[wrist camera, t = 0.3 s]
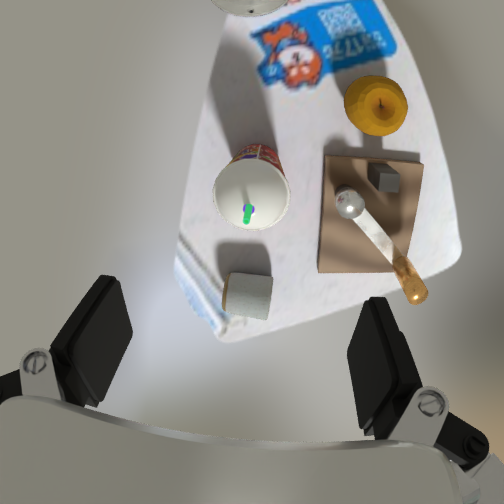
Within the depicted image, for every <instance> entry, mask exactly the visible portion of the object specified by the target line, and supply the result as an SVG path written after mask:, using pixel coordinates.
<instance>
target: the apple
mask: <svg viewBox="0 0 504 504" xmlns="http://www.w3.org/2000/svg"><path fill="white" fill-rule="evenodd" d="M344 108H345V112H346V114H347V116H348V118H349V120H350V121H351V122H352V123H353V124H354V125H355V126H356V127H357V128H358V129H359V130H361V131H362V132H364V133H366V134H369V135H374V136H386V135H389V134H391V133H393V132H395V131H397V130H398V129H399V128H400V127H401V125H402V124H403V122H404V120H405V117H406V115H407V110H408V105H407V100H406V97H405V95H404V93H403V91H402V89H401V88H400V86H399V85H398V84H397V83H396V82H395V81H393V80H391V79H389V78H386V77H383V76H364V77H360V78H358V79H357V80H355V81H354V82H353V83H352V84H351V85H350V86H349V87H348V89H347V91H346V93H345V97H344Z"/></svg>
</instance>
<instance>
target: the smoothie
mask: <svg viewBox="0 0 504 504" xmlns="http://www.w3.org/2000/svg"><path fill="white" fill-rule="evenodd" d="M213 202H214V204H215V207H216V209H217V212H218V213H219V214H220V215H221V217H222V218H223V219H224V220H225V221H226V222H228V223H229V224H231V225H232V226H234V227H236V228H239V229H242V230H246V231H259V230H262V229H266V228H269V227H271V226H272V225H274V224H276V223H277V222H279V220H280V219H281V218H282V217H283V216H284V215H285V214H286V211H287V209H288V206H289V204H290V189H289V185H288V182H287V180H286V178H285V175H284V172H283V169H282V166H281V163H280V160H279V157H278V156H277V154H276V153H275V152H274V150H272V149H271V148H269V147H268V146H265V145H261V144H252V145H249V146H246V147H245V148H243V149H242V150H241V151H239V153H238V154H237V155H236V156H235V157H234V158H233V159H232V160H231V162H230V163H229V164H228V165H227V166H226V167H225V168H224V169H223V170H222V171H221V173H220V174H219V175H218V177H217V178H216V180H215V184H214V187H213Z"/></svg>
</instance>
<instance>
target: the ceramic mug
mask: <svg viewBox="0 0 504 504" xmlns="http://www.w3.org/2000/svg"><path fill="white" fill-rule="evenodd" d="M272 286H273V277H271V276H262V275H253V274H245V273H229V274H228V275H227V277H226V280H225V284H224V289H223V296H222V308H223V310H224V311H226V312H228V313H231V314H234V315H241V316H246V317H251V318H256V319H261V320H267V318H268V313H269V307H270V302H271V294H272Z"/></svg>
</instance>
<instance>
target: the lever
mask: <svg viewBox="0 0 504 504" xmlns="http://www.w3.org/2000/svg"><path fill="white" fill-rule="evenodd" d="M335 206H336V208H337V210H338V212H339V214H340V215H341V216H342V217H344V218H346V219H353V220H354V221H355V223H356V224H357V225H358V226H359V227H360V228H361V229H362V230H363V232H364V233H365V234H366V235H367V236H368V237H369V238H370V240H371V241H372V242H373V243H374V244H375V245H376V246H377V248H378V249H379V250H380V251H381V252H382V254H383V255H384V256H385V257H386V258H387V260H388V261H389V262H390V263H391V264H392V269H393V271H394V273H395V275H396V277H397V279H398V281H399V283H400V285H401V287H402V289H403V291H404V293H405V295H406V296H407V299H408V301H409V303H411V304H412V305H417V304H420V303H422V302H423V301H424V300H425V299H426V298H427V296H428V290H427V288H426V286H425V285H424V283H423V281H422V280H421V278H420V276H419V275H418V273H417V271H416V270H415V268H414V266H413V265H412V263H411V262H410V260H409V259H408V258H407V257H405V256H404V255H403V254H402V252H401V251H400V250H399V249H398V247H397V246H396V245H395V243H394V242H393V241H392V240H391V238H390V237H389V236H388V235H387V233H386V232H385V231H384V230H383V229H382V227H381V226H380V225H379V224H378V222H377V221H376V220H375V219H374V218H373V216H372V215H371V214H370V213H369V212H368V211H367V209H366V208H365V202H364V199H363V197H362V196H361V194H360V193H359V192H358V191H357V190H356V189H354V188H351V187H346V188H343V189H341V190H340V191H339V192H338V193H337V194H336V196H335Z"/></svg>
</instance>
